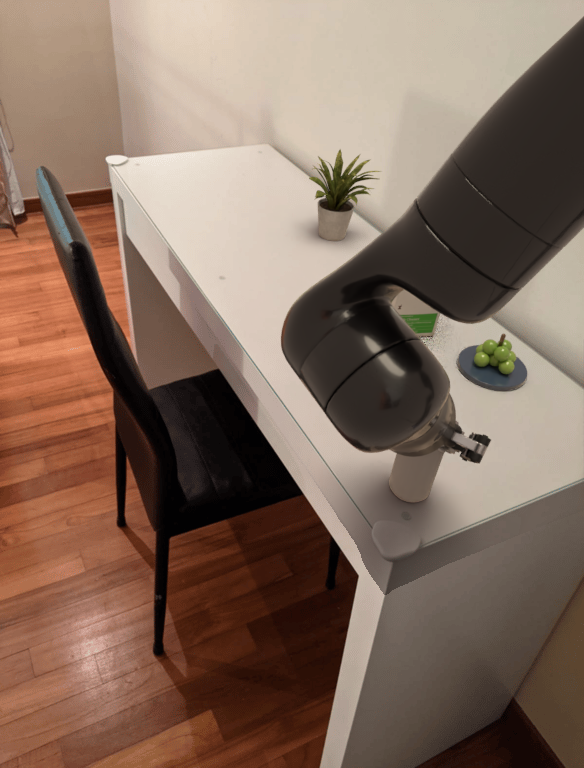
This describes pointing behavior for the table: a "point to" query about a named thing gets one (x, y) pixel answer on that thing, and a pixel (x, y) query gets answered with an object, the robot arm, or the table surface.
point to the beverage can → (414, 476)
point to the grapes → (493, 365)
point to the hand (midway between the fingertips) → (430, 432)
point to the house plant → (338, 197)
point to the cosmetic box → (416, 313)
